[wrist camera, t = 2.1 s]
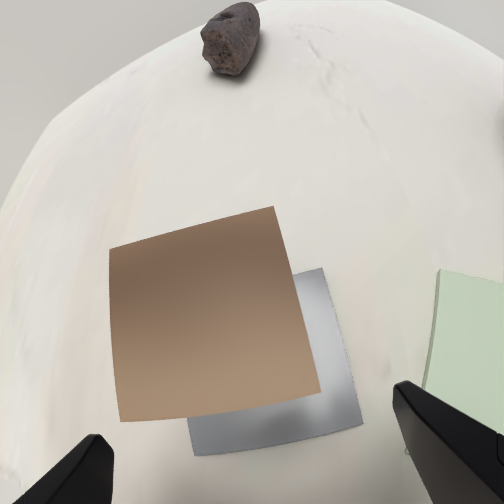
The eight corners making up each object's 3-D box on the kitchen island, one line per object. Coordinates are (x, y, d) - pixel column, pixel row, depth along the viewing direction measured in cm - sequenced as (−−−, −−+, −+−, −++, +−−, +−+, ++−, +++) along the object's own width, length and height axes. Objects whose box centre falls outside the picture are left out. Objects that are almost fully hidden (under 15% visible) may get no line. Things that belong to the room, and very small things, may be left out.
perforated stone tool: (238, 30, 37) (229, -10, 31) (274, 30, 36) (268, -12, 30) (199, 87, 31) (182, 36, 25) (245, 87, 30) (233, 32, 24)
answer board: (536, 452, 12) (541, 452, 11) (404, 452, 15) (407, 453, 14) (553, 299, 16) (558, 297, 15) (437, 272, 19) (440, 268, 18)
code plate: (361, 422, 16) (363, 423, 15) (197, 454, 16) (194, 456, 16) (321, 271, 20) (321, 267, 20) (173, 305, 21) (170, 303, 20)
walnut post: (307, 393, 17) (321, 392, 6) (229, 409, 17) (120, 421, 6) (290, 318, 19) (273, 205, 8) (215, 335, 19) (109, 249, 8)
